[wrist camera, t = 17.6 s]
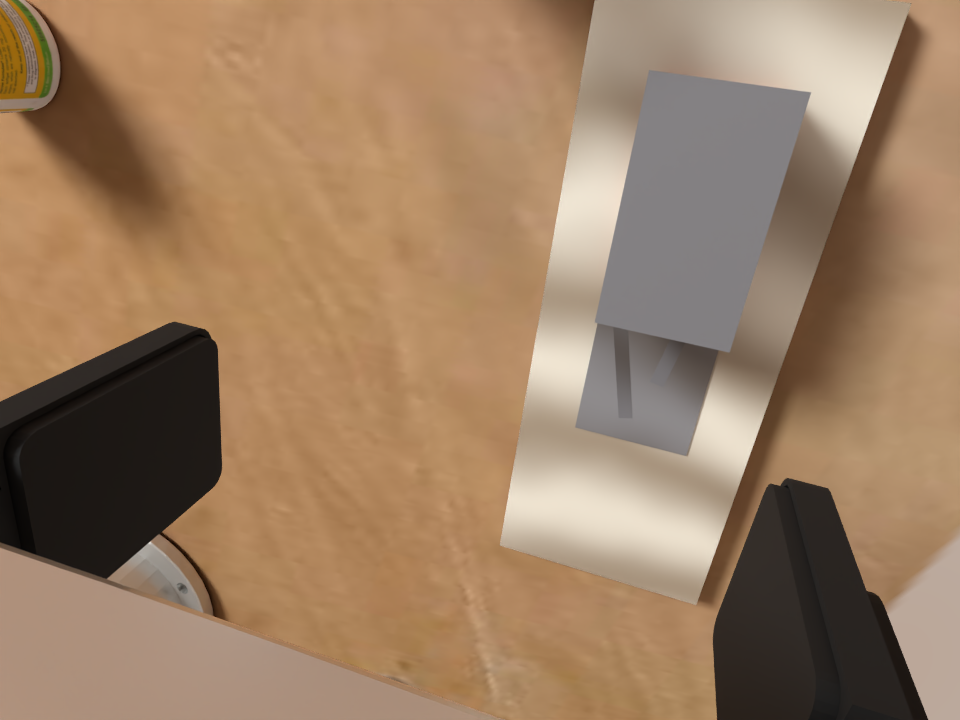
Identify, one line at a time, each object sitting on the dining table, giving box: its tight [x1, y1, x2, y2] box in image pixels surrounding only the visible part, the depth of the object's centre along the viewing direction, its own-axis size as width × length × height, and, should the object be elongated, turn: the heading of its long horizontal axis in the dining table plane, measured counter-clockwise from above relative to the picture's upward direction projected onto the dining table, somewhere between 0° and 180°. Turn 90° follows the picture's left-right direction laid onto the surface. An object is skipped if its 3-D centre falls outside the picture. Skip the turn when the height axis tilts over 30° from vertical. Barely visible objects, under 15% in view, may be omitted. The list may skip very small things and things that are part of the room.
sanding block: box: [595, 70, 811, 353], centre depth 23 cm, size 8×4×5 cm, turn 173°
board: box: [500, 0, 911, 605], centre depth 28 cm, size 26×10×1 cm, turn 173°
